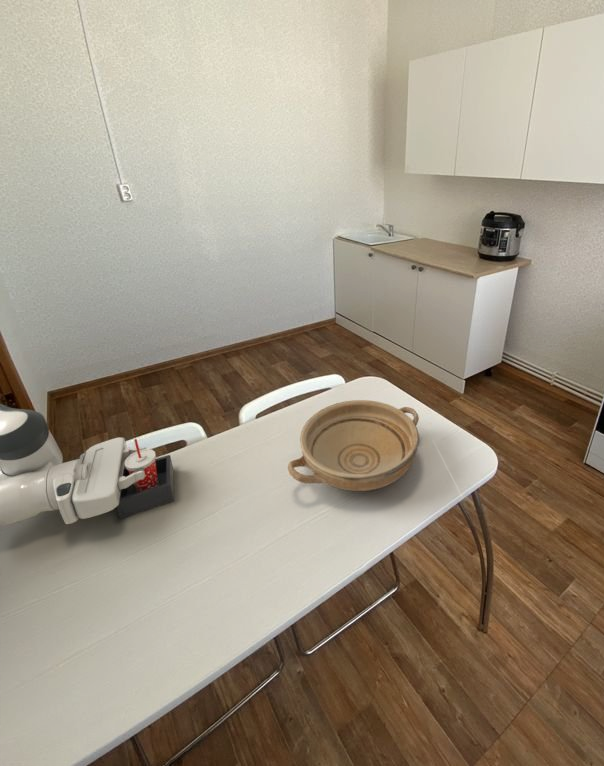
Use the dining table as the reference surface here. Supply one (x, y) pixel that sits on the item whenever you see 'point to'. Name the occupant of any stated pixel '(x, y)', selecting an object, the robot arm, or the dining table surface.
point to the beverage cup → (147, 462)
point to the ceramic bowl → (357, 445)
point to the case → (148, 491)
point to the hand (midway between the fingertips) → (145, 461)
